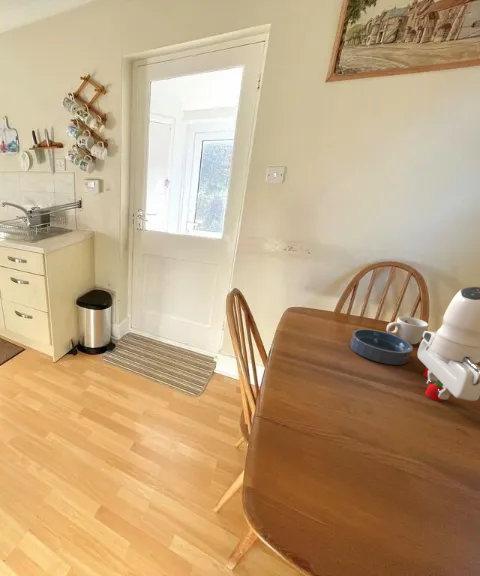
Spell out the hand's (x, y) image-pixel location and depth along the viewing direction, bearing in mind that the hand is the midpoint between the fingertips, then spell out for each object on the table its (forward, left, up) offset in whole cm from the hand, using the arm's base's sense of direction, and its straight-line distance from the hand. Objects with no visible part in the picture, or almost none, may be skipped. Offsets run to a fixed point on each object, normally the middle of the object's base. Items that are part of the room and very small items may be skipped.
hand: (436, 391), depth 85 cm
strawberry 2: (0, 0, -2) cm, 2 cm away
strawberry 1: (-4, -11, -2) cm, 12 cm away
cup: (-5, -34, -2) cm, 34 cm away
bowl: (+6, -21, -2) cm, 22 cm away
